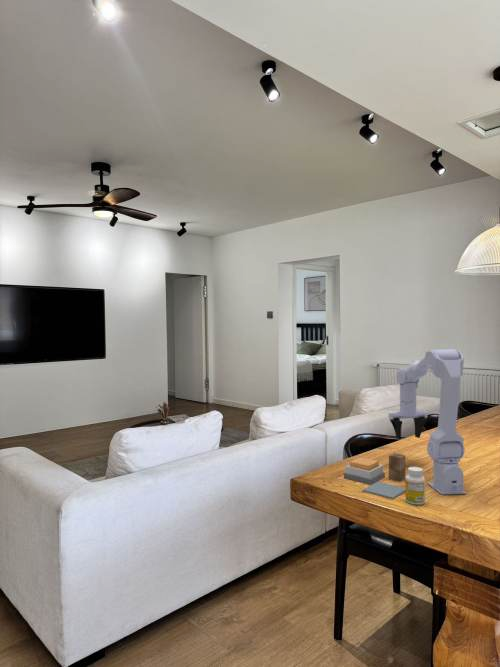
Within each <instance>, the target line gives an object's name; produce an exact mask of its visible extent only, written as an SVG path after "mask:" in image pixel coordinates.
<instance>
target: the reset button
mask: <svg viewBox="0 0 500 667" xmlns="http://www.w3.org/2000/svg"><path fill="white" fill-rule="evenodd" d="M349 464H350V467H355V468H359V469H363V470H368V471H370V470H372V469H374V468H376V467H378V466H379V465H380V463H379V460H375V459H370V458H366V457H361V456H360V457H358V458H355V459H353V460H351V461H349Z"/></svg>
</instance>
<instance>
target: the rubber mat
mask: <svg viewBox="0 0 500 667" xmlns="http://www.w3.org/2000/svg"><path fill="white" fill-rule="evenodd" d="M362 492H364V493H368V494H372V495H376V496H379V497H383V498H386V499H390V500H394V499H396V498H397V497H399V496H401V495H402V494H403V493H406V487H402V486H397V485H394V484H389V483H387V482H382V481H376V482H375V483H373V484H371V485H370V484H369V486H366V487H365V488H363V489H362Z"/></svg>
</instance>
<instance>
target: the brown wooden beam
mask: <svg viewBox="0 0 500 667" xmlns="http://www.w3.org/2000/svg"><path fill="white" fill-rule="evenodd" d="M388 480H391V481H396V482H399V483H401V482H402V481H404V480H406V455H405V454H401V453H396V452H394V453H391V454H389V455H388Z"/></svg>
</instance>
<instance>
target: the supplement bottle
mask: <svg viewBox="0 0 500 667" xmlns="http://www.w3.org/2000/svg"><path fill="white" fill-rule="evenodd" d="M407 470H408V471H407V473H408V474H407V475H405V488H406V491H405V501H406V502H407V503H408V504H411V505H415V506H416V505H418V506H419V505H421V506H422V505H423V504H425V502H426V479H425V477H424V476H423V473H424V472H423V468H421V467H417V466H409V467H408V468H407Z"/></svg>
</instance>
